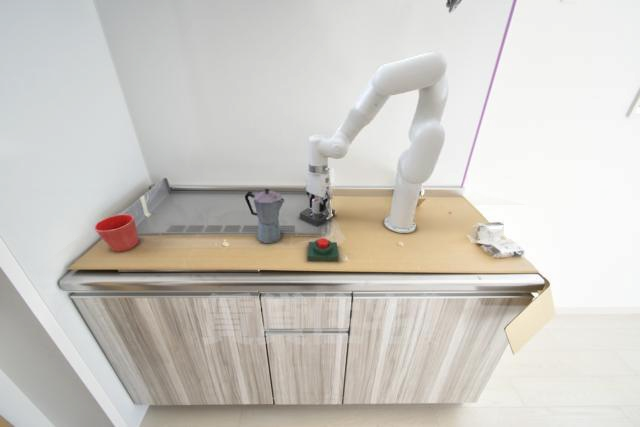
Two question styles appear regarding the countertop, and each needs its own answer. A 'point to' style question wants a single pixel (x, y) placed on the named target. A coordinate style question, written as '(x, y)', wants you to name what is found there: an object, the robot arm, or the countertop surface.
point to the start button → (322, 243)
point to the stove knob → (316, 205)
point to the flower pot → (118, 232)
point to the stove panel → (315, 216)
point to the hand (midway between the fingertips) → (317, 208)
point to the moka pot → (267, 214)
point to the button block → (323, 252)
